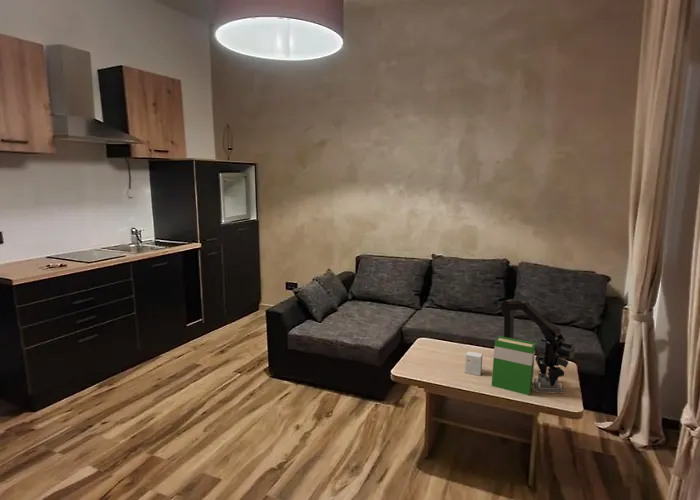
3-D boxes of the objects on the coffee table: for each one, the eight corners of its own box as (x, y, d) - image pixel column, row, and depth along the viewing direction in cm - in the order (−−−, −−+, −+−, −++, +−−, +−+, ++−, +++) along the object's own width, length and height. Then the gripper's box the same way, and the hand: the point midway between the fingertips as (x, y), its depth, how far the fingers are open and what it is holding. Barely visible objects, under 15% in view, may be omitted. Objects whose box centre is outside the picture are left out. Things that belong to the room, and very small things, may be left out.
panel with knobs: (538, 392, 212) (538, 384, 211) (530, 383, 221) (530, 376, 220) (564, 392, 212) (565, 385, 212) (555, 384, 221) (556, 376, 220)
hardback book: (491, 385, 218) (494, 340, 214) (495, 380, 224) (498, 335, 220) (528, 395, 209) (533, 347, 205) (531, 389, 215) (535, 343, 211)
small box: (481, 372, 234) (483, 353, 232) (480, 376, 229) (481, 357, 227) (466, 369, 237) (467, 350, 235) (464, 373, 232) (465, 354, 230)
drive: (541, 388, 214) (542, 377, 213) (537, 383, 219) (538, 373, 218) (557, 388, 214) (559, 377, 213) (553, 384, 219) (554, 373, 218)
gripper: (576, 359, 204) (573, 390, 207) (557, 344, 223) (555, 373, 225) (553, 359, 204) (550, 390, 207) (536, 344, 223) (533, 373, 225)
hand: (547, 381), depth 216 cm, fingers open, 9 cm apart
